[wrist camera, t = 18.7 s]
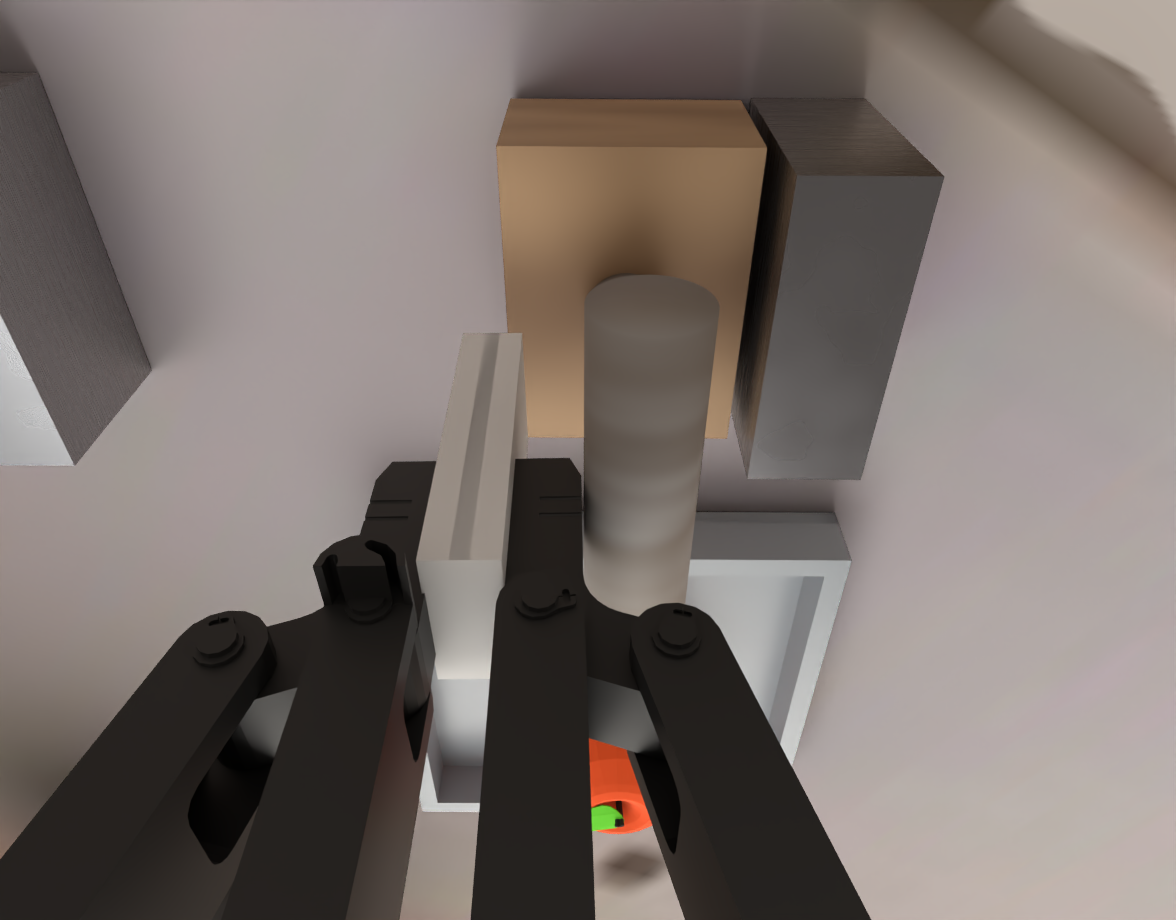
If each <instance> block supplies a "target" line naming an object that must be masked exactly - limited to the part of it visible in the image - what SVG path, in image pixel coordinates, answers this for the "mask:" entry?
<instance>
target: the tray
mask: <svg viewBox="0 0 1176 920" xmlns="http://www.w3.org/2000/svg"><path fill="white" fill-rule="evenodd" d="M582 537H583V575H584V511H582ZM851 562H852V560H851V557H850V554H849V551H848V548H847V546H846V543H845V540H844V537H843V534H842V532H841V529H840V526H839V523H838V520H837V518H836V515H835V513H795V512H696V515H695V524H694V532H693V541H692V549H691V558H690V566H689V575H688V584H687V592H686V601H685V604H686V605H690V606H694V607H697V608H698V609H700V610H702V611H703V612H705V613H707V614H708V615H710V616H711V618H712V619H713V620H714V621H715V623H716V624H717V625H718V626H719V628H720V629H721V631H722V633H723V635H724V637H725V639H726V641H727V643H728V645H729V647H730V649H731V651H732V652H733V654H734V656H735V658H736V660H737V662H738V664H739V666H740V668H741V670H742V672H743V674H744V676H745V678H746V679H747V681H748V683H749V685H750V687H751V689H752V691H753V693H754V695H755V697H756V699H757V701H758V703H759V705H760V706H761V708H762V710H763V712H764V714H765V716H766V718H767V720H768V722H769V724H770V726H771V728H772V730H773V732H774V733H775V735H776V737H777V739H778V741H779V743H780V745H781V747H782V749H783V751H784V753H785V755H786V757H787V759H788V760H789V762H790V764H791V766H792V765H793V762H794V758H795V755H796V751H797V748H798V744H799V741H800V738H801V734H802V731H803V727H804V724H805V720H806V717H807V713H808V710H809V707H810V703H811V700H812V696H813V693H814V689H815V686H816V682H817V679H818V675H819V672H820V669H821V665H822V662H823V658H824V655H825V651H826V648H827V644H828V641H829V638H830V634H831V631H832V627H833V624H834V620H835V617H836V613H837V610H838V607H839V603H840V600H841V596H842V593H843V589H844V586H845V582H846V579H847V576H848V572H849V569H850V565H851ZM489 683H490V679H438V678H437V673H436V667H435V663H434V669H433V676H432V682H431V690H432V695H433V706H434V712H433V718H432V724H431V730H430V736H429V742H428V748H427V754H426V760H425V766H424V773H423V779H422V785H421V791H420V797H419V798H420V803H421V807H422V811H423V812H479V809H480V796H481V783H482V771H483V758H484V746H485V733H486V720H487V708H488V695H489Z"/></svg>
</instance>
